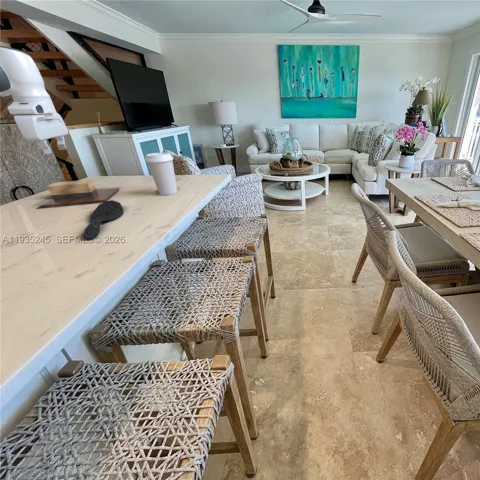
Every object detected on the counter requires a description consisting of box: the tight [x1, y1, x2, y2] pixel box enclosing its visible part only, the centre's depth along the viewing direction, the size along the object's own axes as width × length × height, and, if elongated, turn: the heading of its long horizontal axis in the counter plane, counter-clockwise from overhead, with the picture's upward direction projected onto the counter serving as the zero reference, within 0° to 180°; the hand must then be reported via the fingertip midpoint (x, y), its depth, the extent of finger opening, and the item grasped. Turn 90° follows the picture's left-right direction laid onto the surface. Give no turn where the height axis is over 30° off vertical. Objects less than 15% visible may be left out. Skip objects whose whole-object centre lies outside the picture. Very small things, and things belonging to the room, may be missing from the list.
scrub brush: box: [46, 179, 98, 199], centre depth 99 cm, size 12×5×5 cm, turn 109°
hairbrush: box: [83, 199, 124, 242], centre depth 79 cm, size 8×4×25 cm
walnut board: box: [36, 187, 120, 209], centre depth 100 cm, size 20×16×1 cm
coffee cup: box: [144, 152, 178, 196], centre depth 103 cm, size 10×10×15 cm
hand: (56, 151), depth 93 cm, fingers open, 8 cm apart
